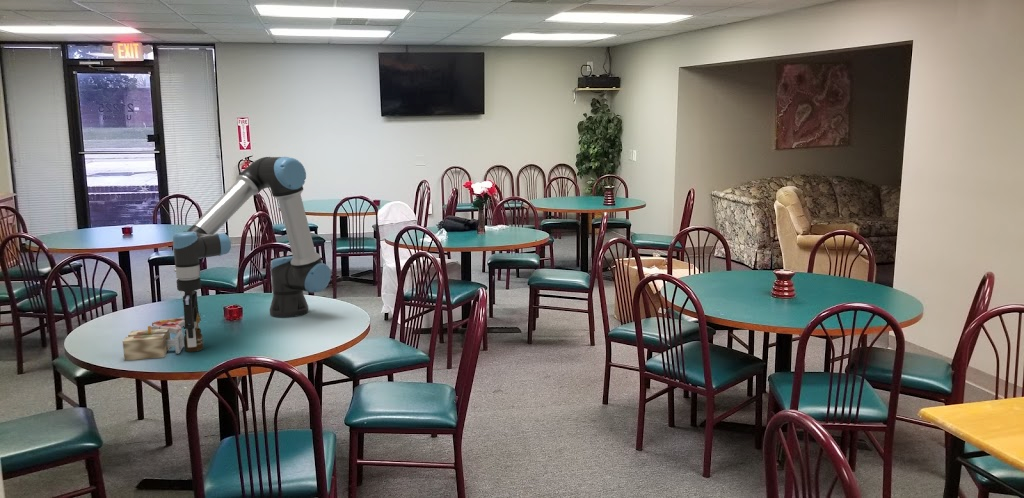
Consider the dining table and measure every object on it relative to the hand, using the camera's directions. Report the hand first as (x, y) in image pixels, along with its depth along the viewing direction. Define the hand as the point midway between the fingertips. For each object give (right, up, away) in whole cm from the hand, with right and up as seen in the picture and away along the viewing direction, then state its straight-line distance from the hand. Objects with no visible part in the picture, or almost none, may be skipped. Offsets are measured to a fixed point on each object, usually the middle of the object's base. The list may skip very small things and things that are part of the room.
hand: (194, 343), depth 264 cm
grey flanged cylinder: (-11, -2, -2) cm, 11 cm away
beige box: (-14, -3, -3) cm, 15 cm away
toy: (-19, +1, +27) cm, 33 cm away
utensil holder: (0, -2, +1) cm, 2 cm away
